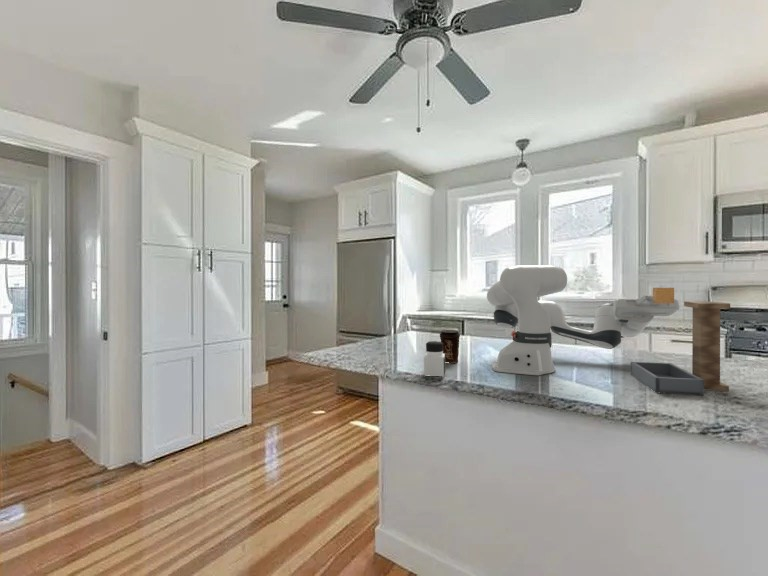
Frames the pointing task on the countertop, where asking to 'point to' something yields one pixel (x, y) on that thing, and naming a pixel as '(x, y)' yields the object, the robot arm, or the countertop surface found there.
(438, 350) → the medicine bottle
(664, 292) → the lock pin
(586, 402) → the countertop surface
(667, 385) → the tray
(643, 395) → the countertop surface
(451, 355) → the coffee cup
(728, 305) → the pedestal
